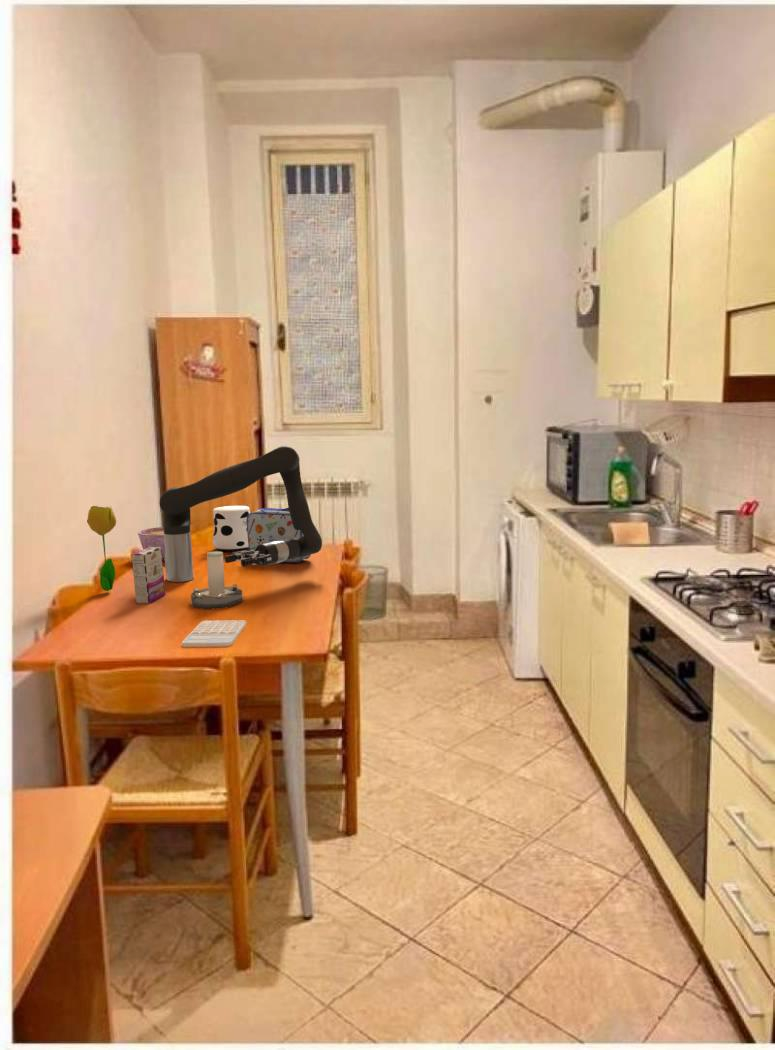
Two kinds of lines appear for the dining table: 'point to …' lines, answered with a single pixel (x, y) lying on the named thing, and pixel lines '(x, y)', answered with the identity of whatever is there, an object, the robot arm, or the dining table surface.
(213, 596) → the base plate
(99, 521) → the flower
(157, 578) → the candy bar box
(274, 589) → the dining table surface
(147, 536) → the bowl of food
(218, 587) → the column
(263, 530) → the lunch box
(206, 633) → the calculator
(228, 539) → the milk container
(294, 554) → the robot arm
